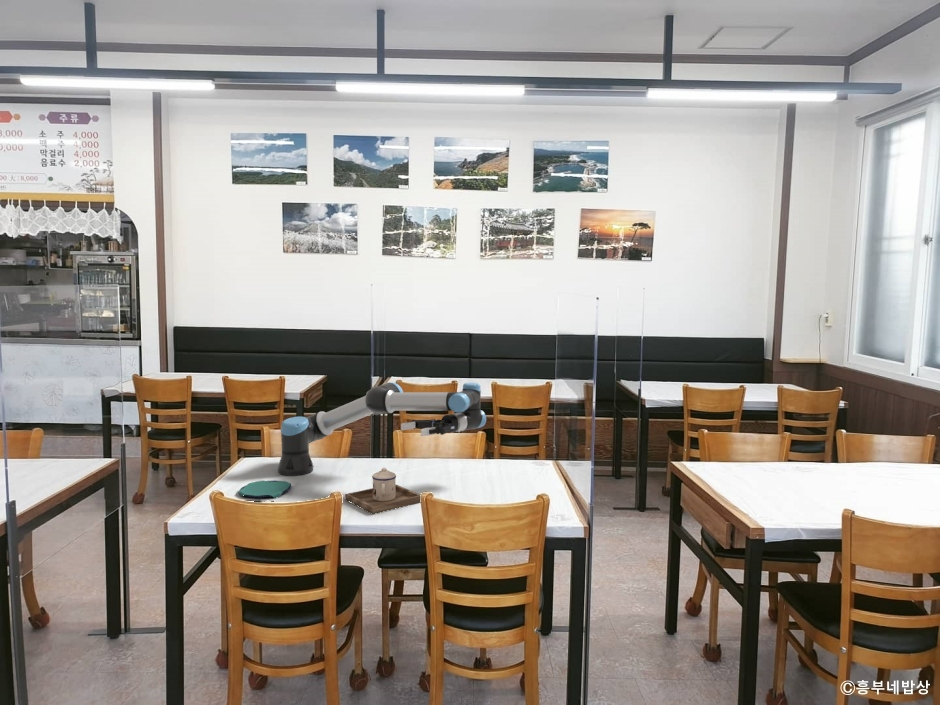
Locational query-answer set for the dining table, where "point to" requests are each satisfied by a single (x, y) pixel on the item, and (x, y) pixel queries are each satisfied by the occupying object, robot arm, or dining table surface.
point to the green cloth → (265, 489)
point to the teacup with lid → (384, 485)
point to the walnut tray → (373, 506)
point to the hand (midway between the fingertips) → (411, 429)
